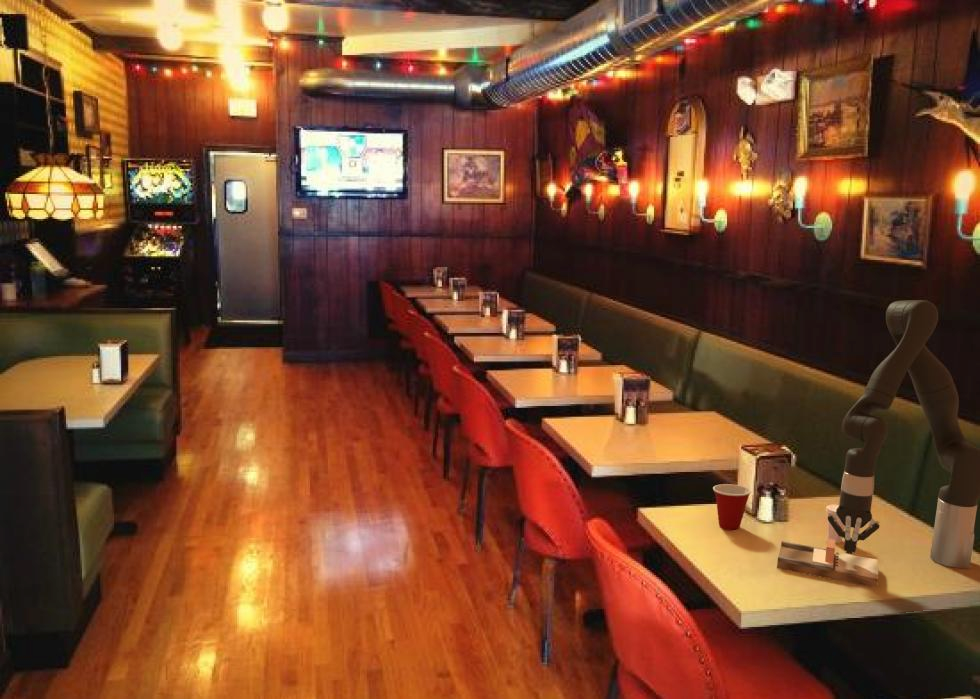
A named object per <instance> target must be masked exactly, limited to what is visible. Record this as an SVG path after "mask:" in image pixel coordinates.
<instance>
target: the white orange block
mask: <svg viewBox="0 0 980 699" xmlns="http://www.w3.org/2000/svg"><path fill="white" fill-rule="evenodd" d="M822 549H823V548H822ZM822 549H816V548H814V553H813V561H812V563H817V564H822V565H827V566H833V561H834V554H835V552H836V551H835V550H836V543H835V540H834V539H828V537H827V539H826V546H825V549H826V550H822Z"/></svg>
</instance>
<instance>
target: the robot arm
mask: <svg viewBox="0 0 980 699" xmlns="http://www.w3.org/2000/svg"><path fill="white" fill-rule="evenodd" d="M938 321H939V312H938V308H937V307H936V305H935V304H934V303H933V302H931V301H929V300H923V299H920V300H919V299H918V300H917V299H916V300H915V299H913V300H912V299H911V300H897V301H896V300H895V301H893V302H892V303H890V304H889V305H888V307H887V308H886V311H885V322H886V325H887V329H888V331H889V333H890V334H891V337H892V339H893V341H894V343H895V345H896V347H895V348H894V350H892V352H890V353H889V355H888V356H887V357H885V358H884V359H883V360H882V361H881V362H880V363H879V364H878V366H877V367H876V368H875V369H874V370H873V372H872V374H871V375H870V378H869V380H868V381H867V382H868V383H867V384H866V387H865V389H864V392H863V393H862V395H861V396H860V397H859V399H857V401H856V402H855V404H853V406H852V407H851V408H850V409H849V410H848V412H847V413H846V414H845V416H844V418H843V419H842V424H841V429H842V432H843V435H844V436H845V437H847V438H849V439H852V440H855V441H859V442H863V443H864V446H863V447H862V448H859V447H858V448H855V447H854V448H850V449H848V450H847V452H846V454H845V463H844V469H843V470H844V471H843V475H842V479H841V484H840V496H839V502H838V505H839V507H838V508H837V510H836V512H834V513H832V514H831V513H829V514H828V521H829V522H830V524H831V525H832V527H833V528H834V530H835V531H836V533H837V534H838V536H840V537H843V538H842V539H844V544H843V551H845V554H849V555H853V553H856V551H857V543H858V542H859V541H865V540H867V539H868V537H870V536H871V535H873V534H874V533H875V532H877V531H878V530H879V529H880V522H879V521H877V520H875V519H874V518H873V515H872V504H873V503H872V502H873V495H874V491H875V490H874V488H875V471H876V463H877V458H878V457H879V453H880V452H881V449H882V447H883V444H884V442H885V441H886V438H887V436H888V433H889V432H888V430H889V429H888V425H887V422H886V420H885V419H883V417H880V416H879V417H878V416H875V415H872V412H875V411H877V412H878V411H887V410H890V408H891V406H892V404H893V403H894V399H895V398H896V395H897V393H898V392H899V388H900V386H901V384H902V381H903V380H904V378H905V377H906V374H907V372H908V373H909V376H910V379H911V381H912V385H913V388H914V390H915V393H916V396H917V399H918V401H919V404H920V406H921V408H922V411H923V413H924V417H925V419H926V421H927V424H928V426H929V428H930V432H931V434H932V439H933V443H934V448H935V453H936V456H937V459H938V462H939V464H940V465H941V467H942V468H943V469H944V470H946V471H947V472H948V473H950V474H951V475H950V479H949V484H948V485H943V486H941V487H940V488H939V490H938V497H937V506H936V513H935V518H934V520H935V521H934V525H933V533H932V534H933V535H932V541H931V547H930V554H929V556H930V559H931V560H932V561H934V562H935V563H937V564H940V565H942V566H947V567H950V568H967V569H970V568H971V562H972V554H973V548H974V542H975V532H974V531H975V530H974V529H975V523H976V522H975V521H976V516H977V510H978V504H979V503H978V502H979V499H980V448H978V447H977V446H975V445H973V444H971V443H969V442H968V441H967V440H966V437H965V436H964V434H963V432H962V429H961V427H960V423H959V420H958V419H959V418H958V412H959V406H960V404H959V401H960V399H959V394H958V391H957V388H956V384H955V383H954V379H953V377H952V374H951V372H949V370H948V369H947V367H946V366H945V364H943V363H942V362H941V361H940V360H939V359H938V358H937V357H936V356H935V354H933V353H932V352H931V351H930V350H929V348H928V347H927V346H926V343H927V342H928V340H929V339H930V337H931V336H932V335H933V333H934V330H935V329H936V326H937V324H938ZM837 516H838V517H839V519H840V520H841V522H842V523H843V525H845V530H844V531H843V530H842V528H841V527H840V525H839V524H838V522H837V520H838V518H837ZM867 524H868V527H867V528H865V529H863V530H862V532H860V529H862V528H864V527H865V526H866V525H867ZM851 528H853V530H852V535H851Z"/></svg>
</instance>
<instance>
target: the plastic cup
mask: <svg viewBox="0 0 980 699" xmlns="http://www.w3.org/2000/svg"><path fill="white" fill-rule="evenodd" d="M712 489H713V491H714V495H715V499H716V509H717V516H718V526H719V527H720V528H721V529H723V530H727V531H738V530H739V529H740V526H741V524H742V520H743V518H744V514H745V509H746V506H747V503H748V501H749V500H748V499H749V497H750V494H751V493H752V489H751V488H749V487H746V486H744V485H739V484H730V483H729V484H728V483H723V484H717V485H714V486H713V487H712Z"/></svg>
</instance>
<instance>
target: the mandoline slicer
mask: <svg viewBox="0 0 980 699" xmlns="http://www.w3.org/2000/svg"><path fill="white" fill-rule="evenodd" d="M780 543H781V544H780V548H779V553H778V556H777V563H776V569H777V570H778V569H779V570H784V571H788V572H794V573H798V572H799V574H803V573H805V575H809V574H811V575H810V576H814V575H815V577H819V576H821V577H820V578H824V577H825V578H826V579H829V578H830V580H835V581H839V582H844V581H845V582H844V583H850V584H854V585H861V586H864V587H865V586H866V587H871V588H874V589H875V588H876V589H877V587H878V582H879V567H878V559H875V558H869V557H865V556H860V555H859V556H858V555H853V554H847V553H843V552H836V551H835V552H836V553H834V561H833V566H827V565H822V564H817V563H812V561H813V553H814V548H816V549H822V550H826V548H822V547H821V548H820V547H816V546H812V545H811V546H810V545H804V544H800V543H795V542H788V541H784V540H782V541H781V542H780ZM825 578H824V579H825Z"/></svg>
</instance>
